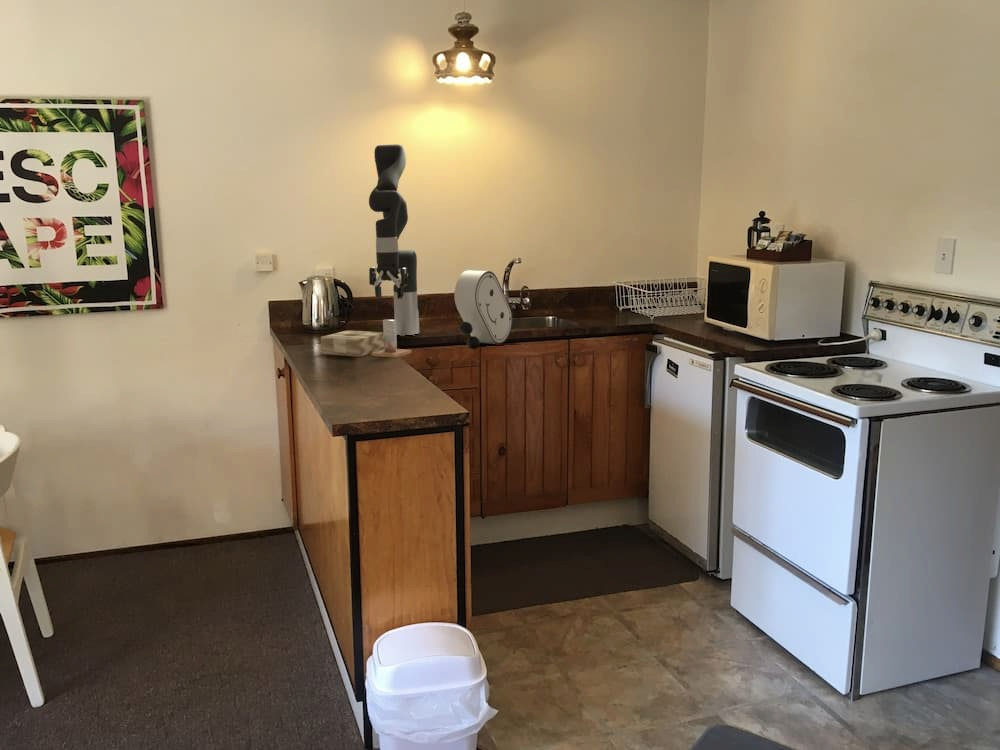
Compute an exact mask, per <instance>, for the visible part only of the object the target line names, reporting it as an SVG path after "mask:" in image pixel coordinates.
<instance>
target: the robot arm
mask: <svg viewBox="0 0 1000 750" xmlns="http://www.w3.org/2000/svg"><path fill="white" fill-rule="evenodd" d="M373 153H374V154H373V155H374V162H375V163H374V164H375V168H376V174H377V178H378V179H377V184H376V186H375V187H374V188H373V190H372V191H371V192H370V194H369V198H368V206H369V207H370V210H372V211H373V212H375V213H382V217H383V218H381V219H378V220H376V221H375V253H376V254H375V255H376V257H375V258H376V259H375V260H376V264H377V267H376V266H371V267H369V269H368V270H369V272H368V273H369V277H368V278H369V279H368V280H369V281H368V282H369V285H370V286H373V288H374V295H375V297H376V298H377V299H380V298H382V286H381V285H382V284H383V282H385V281H389V282H393V290H392V292H393V309H394V311H393V313H394V314H393V315H394V319H395V320H396V336H397V335H400V336H399V337H406V336H405V335H413V336H415V335H414V334H418V333H419V334H420V315H419V313H420V312H419V308H418V306H419V305H418V282H417V281H418V280H417V276H418V275H417V274H418V273H417V272H418V271H417V270H418V268H417V267H418V259H417V253H416V252H415V250H414V249H412V250H411V249H399V243H398V241H399V238H400V236H401V234H402V233H403V231H404V230H405V228H406V225H407V223H408V221H409V214H408V206H407V201H406V200H405V198H404V196H403V195H402V194H401V193H400V191H399V190H398V188H399V187H398V186H399V182H400V178H401V177H402V175H403V172H404V170H405V168H406V164H407V154H406V150H405V147H404V146H403V145H401V144H380V145H379V144H378V145H376V146H375V147H374V152H373ZM377 274H378V276H377ZM419 334H418V335H419Z"/></svg>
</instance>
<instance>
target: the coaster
mask: <svg viewBox="0 0 1000 750" xmlns="http://www.w3.org/2000/svg"><path fill="white" fill-rule="evenodd" d="M409 354H412V349H403V348H401V349H400V348H397V352H392V353H387V352H384V349H383V350H380V351H377V352H373V353H370V355H371V357H383V358H395V359H397V358H400V357H403V356H407V355H409Z"/></svg>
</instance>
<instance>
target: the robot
mask: <svg viewBox="0 0 1000 750" xmlns="http://www.w3.org/2000/svg"><path fill="white" fill-rule="evenodd" d="M453 293H454V294H453V295H454V303H455V307H456V309H457V312H458V313H459V315H460V317H461V319H462V322H461V323H460V324H459V326H458V329H459V332H460V333H461V334H462V335H464V336H467V335H469V337H468V338H466V339H467V340H466V346H467V347H468V348H469V349H471V350H475V349H478V348H479V347H480V345H481V344H487V345H488V344H489V345H502V344H504V343H505V342H506V341H507V340H508V338H509V336H510V334H511V331H512V326H513V311H512V309H511V305H510V303H509V301H508V299H507V297H506V295H505V292H504V291H503V288H502V286H501V283H500V280H499V279H498V277H497V276H496V274H495V273H494V272H493V271H490V270H473V269H469V270H464V271H463V272H461V274H460V276H459V277H458V279H457V281H456V283H455V287H454V292H453Z"/></svg>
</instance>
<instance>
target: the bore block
mask: <svg viewBox="0 0 1000 750" xmlns="http://www.w3.org/2000/svg"><path fill="white" fill-rule="evenodd" d="M320 348H321V354H322V355H330V356H331V355H332V356H343V357H344V356H346V357H357V358H360V357H364V356H367V355H369V354H370V355H371V353H373V352H377V351H380V350H383V349H384V334H383V331H381V332H379V331H378V332H377V331H363V330H350V329H349V330H343V331H339V332H335V333H332V334H327V335H323V336H320Z"/></svg>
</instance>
